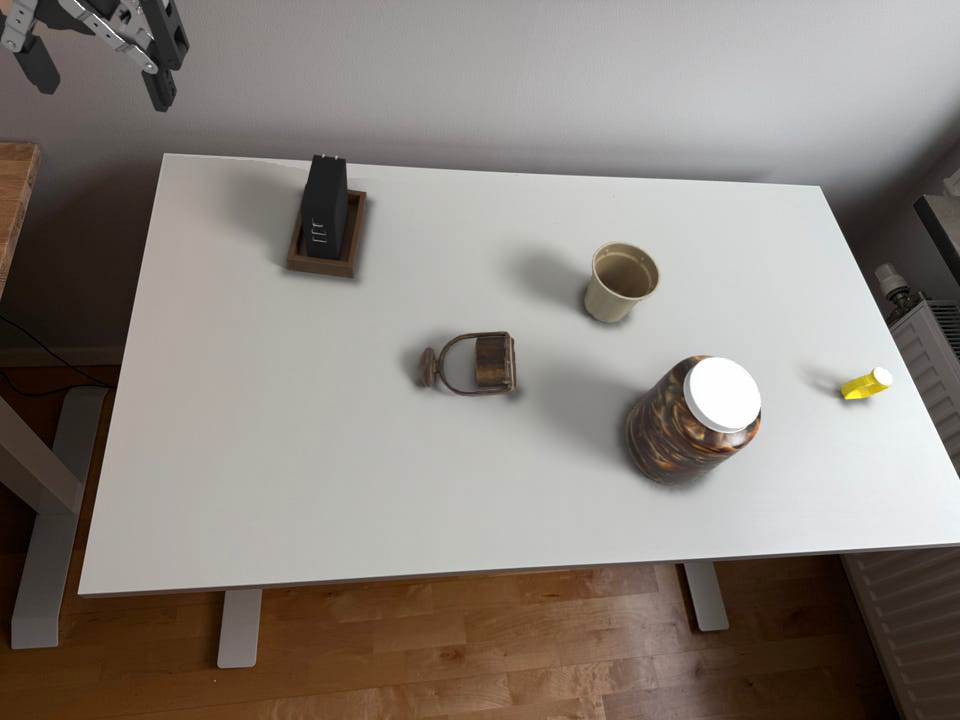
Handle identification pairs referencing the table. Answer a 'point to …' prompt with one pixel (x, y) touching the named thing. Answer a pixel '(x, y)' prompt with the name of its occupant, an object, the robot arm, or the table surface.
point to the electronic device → (325, 207)
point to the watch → (875, 380)
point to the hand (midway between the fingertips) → (109, 96)
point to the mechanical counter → (478, 363)
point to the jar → (693, 419)
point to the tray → (348, 249)
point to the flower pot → (620, 280)
